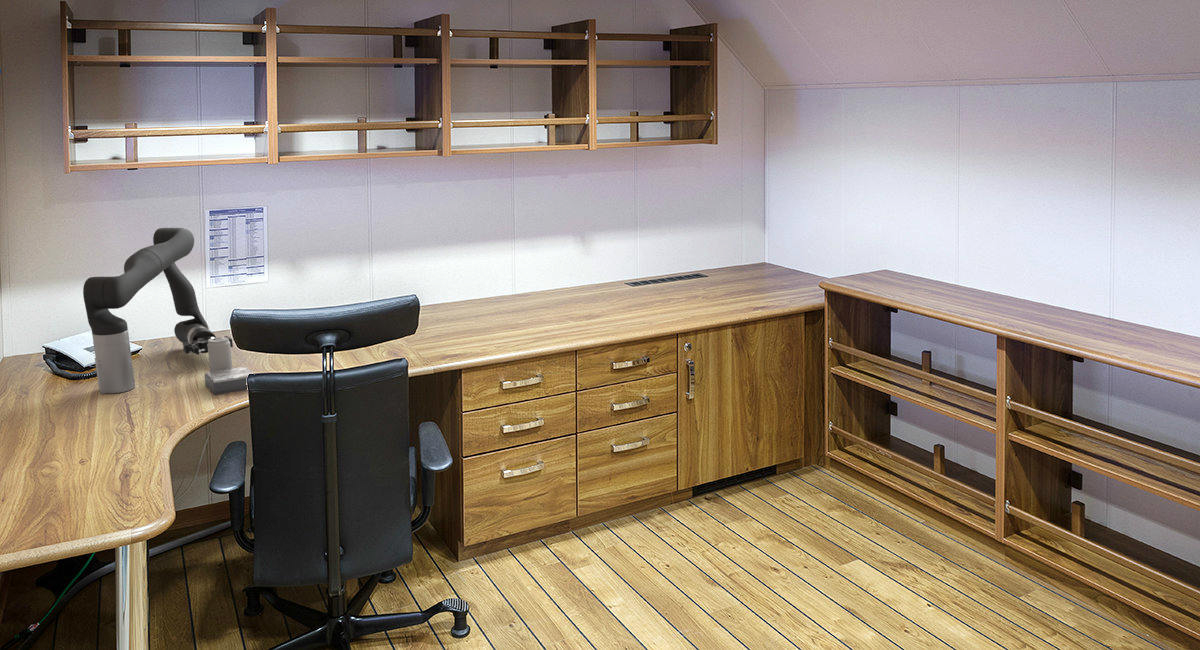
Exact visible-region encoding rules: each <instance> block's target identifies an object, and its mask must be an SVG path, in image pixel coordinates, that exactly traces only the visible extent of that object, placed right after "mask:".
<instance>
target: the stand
mask: <svg viewBox="0 0 1200 650" xmlns="http://www.w3.org/2000/svg"><path fill="white" fill-rule="evenodd" d="M249 374H254V373H253V372H252V371H251V370H250V369H249V368H248V367H247V366H239V367H233V368H231V369H225V370H218V371H212V372H210V371H207V372H205V373H204V381H205V382H204V383H205V386H206V388H207V389H209V391H210V393H212V395H213V396H219V395H224V393H225V394H231V393H237V392H243V391H248V390H247V385H246V378H247V376H248V375H249ZM236 391H237V392H236ZM230 392H231V393H230ZM218 394H219V395H218Z"/></svg>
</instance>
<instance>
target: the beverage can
mask: <svg viewBox="0 0 1200 650" xmlns="http://www.w3.org/2000/svg"><path fill="white" fill-rule="evenodd" d="M207 346H208V364H209V372H212V371H218V370H225V369H231V368H234V366H233V359H232V347H231V346H230V341H229V340H228V338H227V337H225V336H218V337H217V336H216V338H212V339H209V340H208V344H207Z"/></svg>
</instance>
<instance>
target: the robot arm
mask: <svg viewBox="0 0 1200 650" xmlns="http://www.w3.org/2000/svg"><path fill="white" fill-rule="evenodd" d="M152 237H153V238H152V241H153V245H152V244H151V245H149V246H146V247H143V248H141V249H139V250H137V251H135V252H134V253H133V254H132V255H130V256H129V257H128V258H127V259H126V261H125V262H124V264H123V273H122V274H120V275H116V276H91V277H88V278H87V279H86V280H84V283H83V286H82V287H83V290H82V295H83V301H84V306H85V307H84V308H85V312H86V317H87V322H88V325H89V327H90V328H91V335H92V343H93V349H94V356H95V357H94V361H95V362H94V364H95V370H96V377H97V385H98V390H99V392H100V394H102V395H104V394H117V393H118V394H119V393H124V392H128V391H131V390H133V389H135V388H136V381H135V375H134V366H133V359H132V351H131V344H130V343H131V342H130V336H129V328H128V322H127V321H126V319H123V318H121V317H119V316H116V315H115V314H113V313H111V311H110V310H116V309H122V308H124V307H125V306H126V305H128V303H129V302H130V301H131V300H132V299H133V298H134V297H135V296H136V294H137V293H138V292H139V291H140V290H141V289H143V288H144V287H145V286H146V285H147V284H148V283H149V282H152V281H153V280H154V279H155V278H156V277H158V276H159V275H160V274H161V273H162V272H163V273H164V276H165V278H166V280H167V283H168V285H169V289H170V292H171V295H172V300H173V305H174V309H175V312H176V314H177V315H178V316H181V317H193V318H190V319H185V320H182V321H179V322H177V323H176V324H175V326H174V329H173V331H174V335H175V337H176V339H177V340H178V341H179V342H180V343H182V350H183V352H184V353H185V354H189V353H191V354H195V355H196V356H197V355H200V353H201V354H207V353H208V346H207V344H208V340H209V339H212V338H217V336H216V335H215V334H214V333H213V331H211V330H210V327H209V325H208V323H207V321H206V319H205V318H204V317H203V314H202V313H201V310H200V307H199V304H198V299H197V295H196V291H195V289H194V286H193V284H192V283H191V282H190V280H189V279H188V278H187V276H186V275H184V273H182V271H181V269H179V267H178V266H177V264H176V262H177V261H179V260H181V259H183V258H185V257H187V256H188V255H190V253H191V252H192V250H193V249H194V247H195V246H194V245H195V236H194V234H193V233H192V231H191V230H190V229H188V228H184V227H159V228H157V229H156V230H155V231H154V234H153V236H152ZM224 337H227V338H228V340H229V341H230V346H231V348H233V347H234V344H233V339H232V338H231V337H229V336H227V335H225V336H224Z"/></svg>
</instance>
